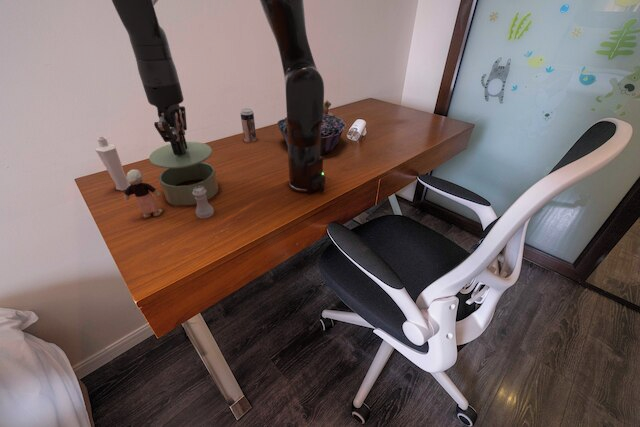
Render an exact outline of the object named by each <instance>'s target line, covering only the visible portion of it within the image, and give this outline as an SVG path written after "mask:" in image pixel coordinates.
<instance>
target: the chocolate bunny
mask: <svg viewBox="0 0 640 427" xmlns="http://www.w3.org/2000/svg"><path fill="white" fill-rule="evenodd" d="M331 106H332V103H331V102H330V101H329V100H328V99H326V100H324V107H323V113H325V114H329V115H334V114H333V113H332V112H331V111H329V109H330V107H331Z"/></svg>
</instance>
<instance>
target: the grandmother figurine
mask: <svg viewBox="0 0 640 427" xmlns="http://www.w3.org/2000/svg"><path fill="white" fill-rule="evenodd" d="M126 178H127V181H128V182H129V183H130V186H129V187H128V188H127V189H125V190H124V191H123V194H124V197H123V198H124V200H125V201H128V200H130V196H132V195H134V197H135V201H136V203H137V206H138V207H139V209H140V211H141V213H142V216H143V218H144V219H148V218H150V217H151V216H153V217H159V216H160V215H161V214H162V213H163V209H162V208H159V206H158V204H157V202H156V201H155V199H154V196H153V195H155V197H156V198H159V197H161V193H160V192H159V191H158V190H157V189H156V188H155V187H154V186H152V185H151V184H149V183H147V182H143V174H142V172H141V171H140V170H138V169H130V170H129V171H128V172H127V174H126ZM152 194H153V195H152Z"/></svg>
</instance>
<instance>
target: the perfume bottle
mask: <svg viewBox="0 0 640 427" xmlns="http://www.w3.org/2000/svg"><path fill="white" fill-rule="evenodd" d="M96 140H97V142H98V144H99V146H97V148H95V152H96V154H97V155H98V157H99V159H100V161H101V162H102V164H103V166H104V167H105V169H106V172H108V174H109V176H110V177H111V179H112V181H113V182H114V184H115V189H116V190H118V191H123V192H124V191H125V190H126V189H127V188H128V187H129V186H130V185H131V183H129V182H128V181H127V178H126V177H127V174H126V173H125V170H124V168H123V165H122V161H121V159H120V156H119V153H118V150H117V148H116V145H115V144H113V143H109V142H108V139H107V137H106V136H99V137H97V138H96Z"/></svg>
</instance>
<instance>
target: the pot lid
mask: <svg viewBox="0 0 640 427" xmlns="http://www.w3.org/2000/svg"><path fill="white" fill-rule="evenodd" d="M173 134H174V133H173ZM174 135H175V134H174ZM179 139H180V142H181V145H182V149H183V154H182V155H174V153H173V149H172V146H171V143H169V144H166V145H163V146H160V147H158V148H156V149H155V150H154V151H151V153H150V154H149V156H148V159H149V160H148V161H149V162H150V164H152V165H153V166H155V167H158V168H160V169H167V168H184V167H189V166H193V165H196V164H199V163H201V162H203V163H204V162H205V161H207V160H208V159H209V158H210V157H211V156H212V154H213V150H212V147H211V146H210V145H208V144H207V143H203V142H199V141H186V143H187V147H188V148H187V149H186V148H185V144H184V141H183V137H182V135H181V134H179Z"/></svg>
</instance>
